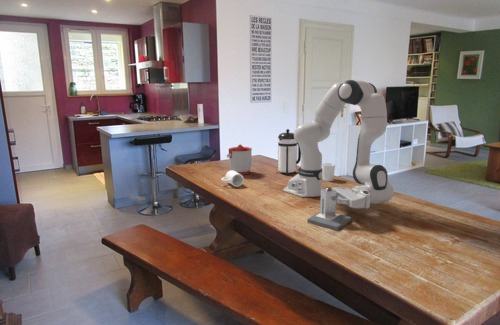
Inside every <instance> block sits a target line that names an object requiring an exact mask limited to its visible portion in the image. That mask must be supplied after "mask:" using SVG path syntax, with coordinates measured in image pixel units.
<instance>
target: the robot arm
mask: <svg viewBox="0 0 500 325" xmlns="http://www.w3.org/2000/svg"><path fill="white" fill-rule="evenodd" d="M346 104H348V105H353V106H359V107H360V118H361V120H360V122H361V124H360V130H359V134H358V138H357V144H356V145H357V147H356V156H355V158H356V159H355V164H354V167H353V170H352V178H353V181H355V182H356V183H357V184H359V185H354V186H353V187H352V188H349V187H345V186H332V187H331V188H332V189H334V190H336V191H337V193H336V205H346V206H348V207H349V208H352V209H370V207H371V204H373V205H375V204H377V205H378V204H383V203H387V202H389V201H391V200H392V199H393V197H394V195H395V190H394V186H393V185H392V184H391V182H390V181H389V178H388V176H389V175H388V170H387V169H386V167H384V165H381V164H371V163H370V160H371V159H370V158H371V148H372V145H373V143H374V142H375V141H376V140H377V139H379V138H380V137H382V136H383V135H384V134H385V132H386V131H387V126H388V112H387V111H388V110H387V103H386V99H385V96H384V95H383V94H381V93H378V89H377V88H376V86H375V85H374V84H373V83H372V82H371V83H370V82H367V81H364V80H354V79H348V80H344V81H342V82H336V83H334V84H333V85H332V86H331V87H330V89H328V91H326V93H325V95H324V96H323V97H322V99H321V100H320V102H319V103H318V105H317V106H316V108H315V109H314V110H315V111H314V117H313V119H312V121H310V122H309V123H303V124H301V125H299V126H297V127H296V128H295V129H294V132H293V133H294V139H295V141H296V142H297V143H298V144H299V147H300V150H301V159H300V167H298V168H297V170H296V172H297V173H296V174H295V175H294V176H293V177H291V178H290V179H289V180H288V182H287V186H285V187H283V192H284V193H288V194H291V195H295V196H297V197H300V198H307V197H311V198H315V197H321V189H323V182H322V181H323V180H322V164H323V163H322V162H323V154H322V152H321V151H320V150H319V149H320V148H319V145H318V144H319V142H323V141H325V140H327V138H329V137H330V134H331V128H332V126H333V123H334V121H335V120H336V119H337V117H338V115H339V114H340V113H341V111H342V110H343V108H344V107H345V105H346ZM298 144H297V145H298Z"/></svg>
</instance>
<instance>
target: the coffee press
mask: <svg viewBox="0 0 500 325" xmlns="http://www.w3.org/2000/svg"><path fill="white" fill-rule="evenodd" d="M277 138H278V142H277V144H278V145H277V146H278V151H277V154H278V155H277V158H278V159H277V169H276V173H277V174H278V173H285V177H286V176H289V173H296V172H297V169H298V168H297V164H299V163H301V150H300V147H299V144H298V143H297V142H296V141H295V139H294V132H290V129H289V128H287V129H286V130H285V132H282V133H280V134H278V137H277Z"/></svg>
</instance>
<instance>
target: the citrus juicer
mask: <svg viewBox="0 0 500 325" xmlns="http://www.w3.org/2000/svg"><path fill="white" fill-rule="evenodd" d="M252 149H253V148H252V147H248V146H243V145H242V144H241V143H239V144H238V145H237V146H233V147H229V148H228V154H227V155H226V158H227V159H229V160H228V161H229V162H228V164H229V167H230V171H231V170H234V171H236V172H237V173H239V174H241V175H242V176H244V175H248V174H249V173H250V171H251V167H252V163H253V162H252V158H253V157H252V156H253V155H252Z"/></svg>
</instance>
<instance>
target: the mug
mask: <svg viewBox="0 0 500 325" xmlns="http://www.w3.org/2000/svg"><path fill="white" fill-rule="evenodd" d="M244 179H245V178H244V175H241V174H239V173H237V172H236V171H234V170H231V169H230V170H229V171H227V172H226V174H225V176H224V177H222V178H221V181H222V182H224V183H229V184H230V185H231V186H233V187H236V188H239V187H241V186H242V185H243V184H244V181H245V180H244Z"/></svg>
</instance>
